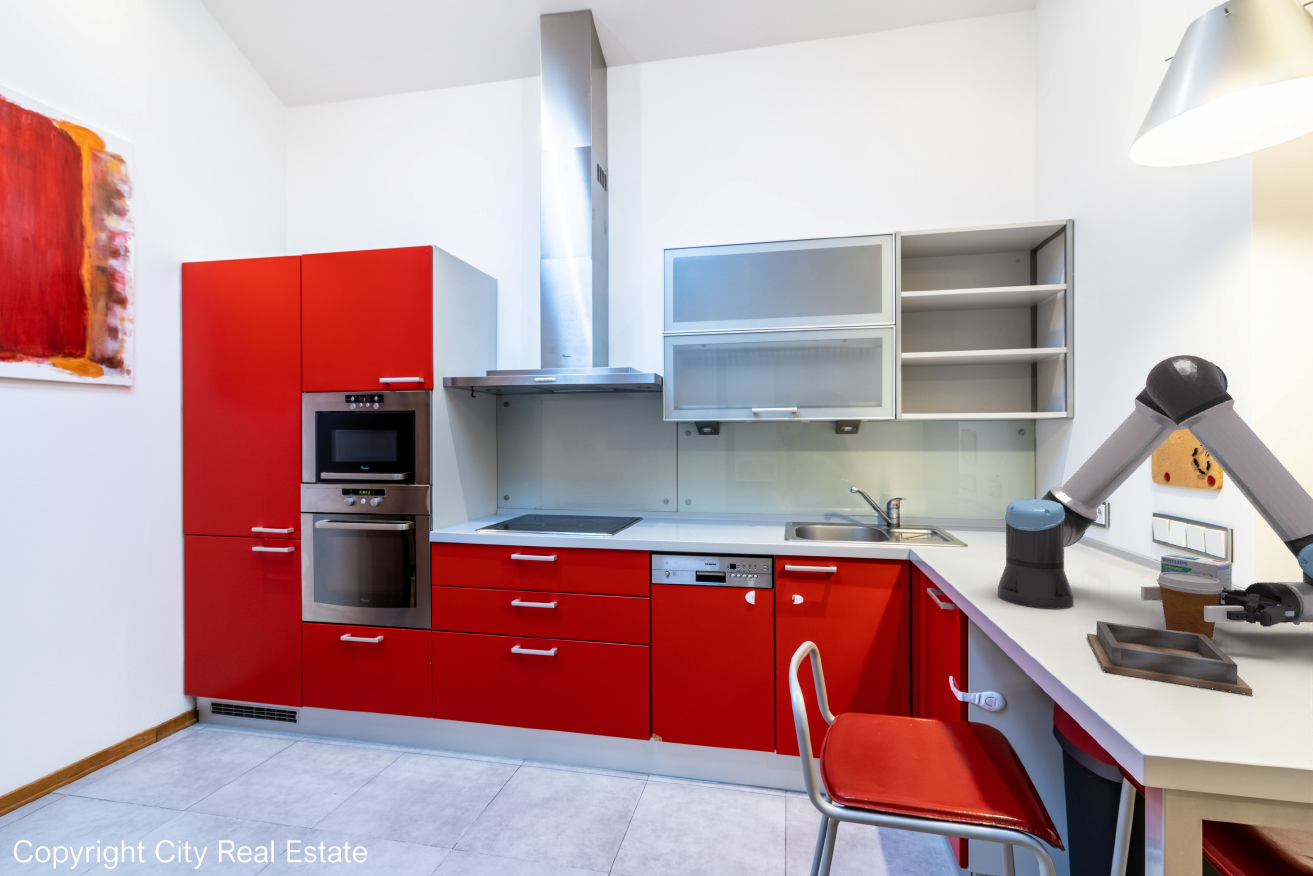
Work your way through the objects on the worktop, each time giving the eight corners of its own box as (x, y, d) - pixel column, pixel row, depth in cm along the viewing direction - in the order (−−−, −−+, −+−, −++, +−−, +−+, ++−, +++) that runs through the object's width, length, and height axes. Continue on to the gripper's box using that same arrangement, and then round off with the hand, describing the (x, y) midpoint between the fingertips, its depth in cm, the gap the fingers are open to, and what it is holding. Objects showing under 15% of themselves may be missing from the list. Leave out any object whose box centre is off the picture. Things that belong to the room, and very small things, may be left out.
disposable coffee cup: (1158, 641, 110) (1158, 578, 110) (1154, 627, 118) (1154, 569, 118) (1228, 652, 105) (1228, 586, 105) (1218, 637, 112) (1218, 575, 112)
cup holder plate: (1103, 671, 96) (1103, 648, 96) (1087, 638, 112) (1087, 617, 112) (1252, 695, 87) (1252, 669, 87) (1211, 655, 103) (1211, 633, 103)
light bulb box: (1159, 600, 137) (1159, 555, 137) (1174, 597, 140) (1174, 552, 140) (1218, 613, 127) (1218, 564, 127) (1233, 609, 130) (1233, 561, 130)
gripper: (1360, 645, 99) (1237, 646, 99) (1218, 602, 124) (1120, 603, 124) (1361, 601, 99) (1237, 602, 99) (1218, 568, 124) (1120, 568, 124)
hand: (1172, 603), depth 111 cm, fingers open, 13 cm apart
